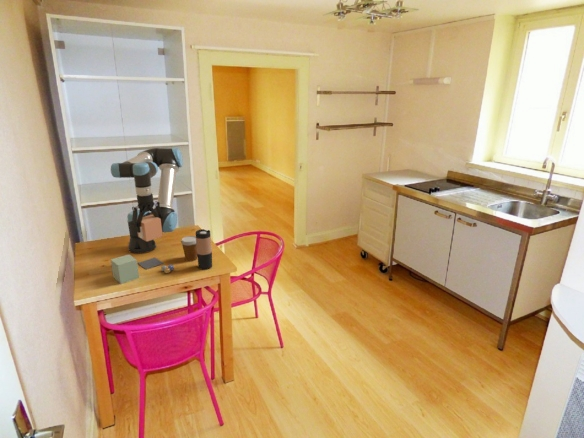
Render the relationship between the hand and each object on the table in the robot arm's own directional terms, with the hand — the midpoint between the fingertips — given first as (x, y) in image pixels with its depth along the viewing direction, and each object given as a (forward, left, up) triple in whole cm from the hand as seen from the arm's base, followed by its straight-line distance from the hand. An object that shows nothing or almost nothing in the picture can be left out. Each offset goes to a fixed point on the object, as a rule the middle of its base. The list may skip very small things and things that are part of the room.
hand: (150, 234), depth 195 cm
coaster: (-1, -1, -17) cm, 17 cm away
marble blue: (+14, +3, -17) cm, 22 cm away
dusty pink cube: (0, 0, -1) cm, 1 cm away
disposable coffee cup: (+9, +18, -17) cm, 26 cm away
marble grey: (+12, 0, -17) cm, 21 cm away
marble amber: (+15, 0, -17) cm, 23 cm away
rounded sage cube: (+6, -17, -17) cm, 25 cm away
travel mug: (+23, +18, -17) cm, 33 cm away
